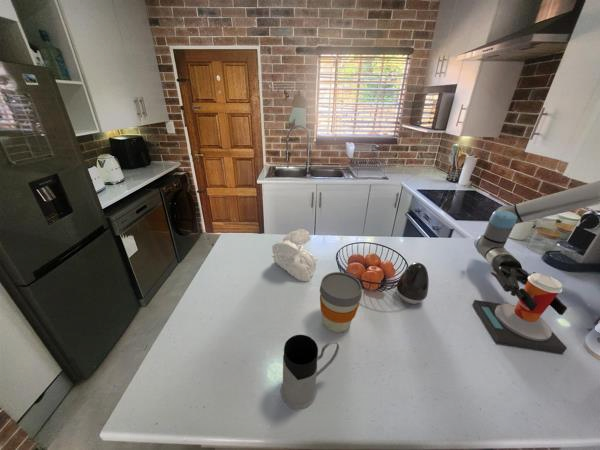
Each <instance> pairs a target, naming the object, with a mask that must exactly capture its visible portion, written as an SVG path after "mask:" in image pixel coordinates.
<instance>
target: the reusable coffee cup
mask: <svg viewBox="0 0 600 450" xmlns="http://www.w3.org/2000/svg"><path fill="white" fill-rule="evenodd" d="M362 292H363V286H362V283H361V282H360V280H359V279H358V278H356V277H355V276H354V275H352V274H350V273H346V272H342V271H334V272H330V273H328V274H327V273H326V275H324V276H323V277H322V279H321V281H320V287H319V293H320V294H319V305H320V307H319V308H320V312H321V316H322V323H323V325H324V326H325V328H326V329H328V330H330V331H331V332H333V333H342V332H346V331H347V330H348V329H349V328H350V326H351V324H352V321H353V319H354V318H355V317H356V314H357V311H358V309H359V307H360V301H361V300H362V295H363V293H362Z"/></svg>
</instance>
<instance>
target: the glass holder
mask: <svg viewBox="0 0 600 450" xmlns="http://www.w3.org/2000/svg"><path fill="white" fill-rule="evenodd" d="M332 345H336V347H335V351H334V353H333V355H332V356H331V357H330V359H329V360H328V361H327V362H326V363H325V364H324V365H323V366H322V367H321V368H320V369H319V370H318V361H320V360H321V359H322V358H323V357H324V353H325V350H326V349H327V348H328V347H329V346H332ZM339 350H340V344H339V343H338V341H337V340H331V341H330V340H329V341H328V342H326V343H325V344H324V345H323V346H322V348H321V350H320V355H319V348H318V344H317V343H316V341H315V340H314V339H313V338H312V337H311V336H309V335H305V334H295V335H293V336H291V337H289V338H288V339H287V340H286V341H285V344H284V345H283V355H282V383H281V387H280V395H281V398H282V401H283V402H284V403H285V404H286V405H287V406H288V407H289V408H291V409H293V410H298V411H299V410H304V409H305V410H306V409H307V408H308V407H310V406H311V405H312V404H313V403H314V402H315V400H316V397H317V385H316V384H317V383H316V382H317V378H318V376H319V375H320V374H321V373H323V372H324V371H325V370H326V369H327V368H328V367H330V365H331V364H332V363H333V361H335V359H336V358H337V355H338V353H339Z"/></svg>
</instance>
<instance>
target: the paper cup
mask: <svg viewBox="0 0 600 450" xmlns="http://www.w3.org/2000/svg"><path fill="white" fill-rule="evenodd" d="M531 274H532V275H530V276H528V281H527V283H526V285H524V288H523V289H524V290H525V291H526V292H527V293H528V294H529V295H530V296H531V297H532V298H533V299H534V300H535V301H536V303H537V304H538V305H537V306H536V308H535V309H534V311H530V309H529V308H528V307H527V306H526V305H525V304H524V303H523V301H522V300H520V299H519V298H518V301H517V303H516V307H515V310H514V312H515V314H516V315H517V316H518V317H520V318H521V319H523V320H525V321H528V322H536V321H537V320H538V318H539V317H540V318H541V316H542V315H543V313H544V312H545V311H546V310H547V309H548V308H549V306H550V304H551V302H552V301H553V300H554V298H555V297H557V296H558V295H559V294H560V293H562V292H563V284H562V283H561V282H560V281H559V280H558V279H556V278H554V277H552V276H548V275H547V274H543V273H542V274H541V273H539V272H535V273H534V274H533V273H531Z"/></svg>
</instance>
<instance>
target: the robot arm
mask: <svg viewBox="0 0 600 450" xmlns="http://www.w3.org/2000/svg"><path fill="white" fill-rule="evenodd" d="M598 205H600V180H597V181H593V182H590V183H586V184H583V185H579V186H576V187H573V188H568V189H566V190H562V191H558V192H554V193H551V194H548V195H545V196H540V197H537V198H534V199H531V200H530V199H529V200H526V201H523V202H520V203H517V204H513V205H501V206H500V207H498V208H497V209H496V210H494V211H493V212H492V214H491V215H490V218H489V221H488V223H487V226H486V227H485V231H484V233H483V234H481V235H479V236H477V238H475V240H474V242H473V245H474V247H475V249H476V251H477V252H478V254H479V255H481V256H482V257H483V259H485V261H486V262H487V263H488V264H489V265H490V267H492V270H491V272H490V274H491V275H492V276H493V277H495V280H496V281H497V282H498V283H499V285H500V287H501V288H502V289H503V291H504V292H506V293H509V292H510V296H513V297H517V299H518V300H519V299H520V300H522V301H523V303H524V304H525V305H526V306H527V307H528V308H529V309H530V311H534V309H535V308H536V306H537V305H538V304H537V303H536V301H535V300H534V299H533V298H532V297H531V296H530V295H529V294H528V293H527V292H526V291H525V290H524V288H520V285H519V283H521V284H522V285H524V286H525V285H526V283H527V281H528V276H530V275H532V274H534V273H536V272H535V271H533V272H532V273H529V272H528V271H527V270H526V269H524V268H523V266H522V264H521V262H520V261H519V260H518V259H517V258H516V257H515V256H514V255H513V254H512V253H510V251H508V250H507V249H506V248H505V245H506V243H507V241H508V239H509V237H510V235H511V233H512V231H513V229H514V227H515V226H516V225H518V224H521V223H525V222H529V221H534V220H537V219H542V218H547V217H551V216H554V215H555V216H556V215H559V214H563V213H564V214H565V213H569V212H571V211H572V212H573V211H577V210H580V209H586V208H589V207H593V206H598ZM549 306H550V307H551V308H552V309H553V310H554V311H555V312H556V313H557V314H558V315H559V316H563V315H564V314H565V312H566V311H567V310H568V307H567V305H565V304H564V303H563V302H562V301H561V299H559V297H557V296H556V297H555V298H554V300H553V301H552V302H551V304H550V305H549Z"/></svg>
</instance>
